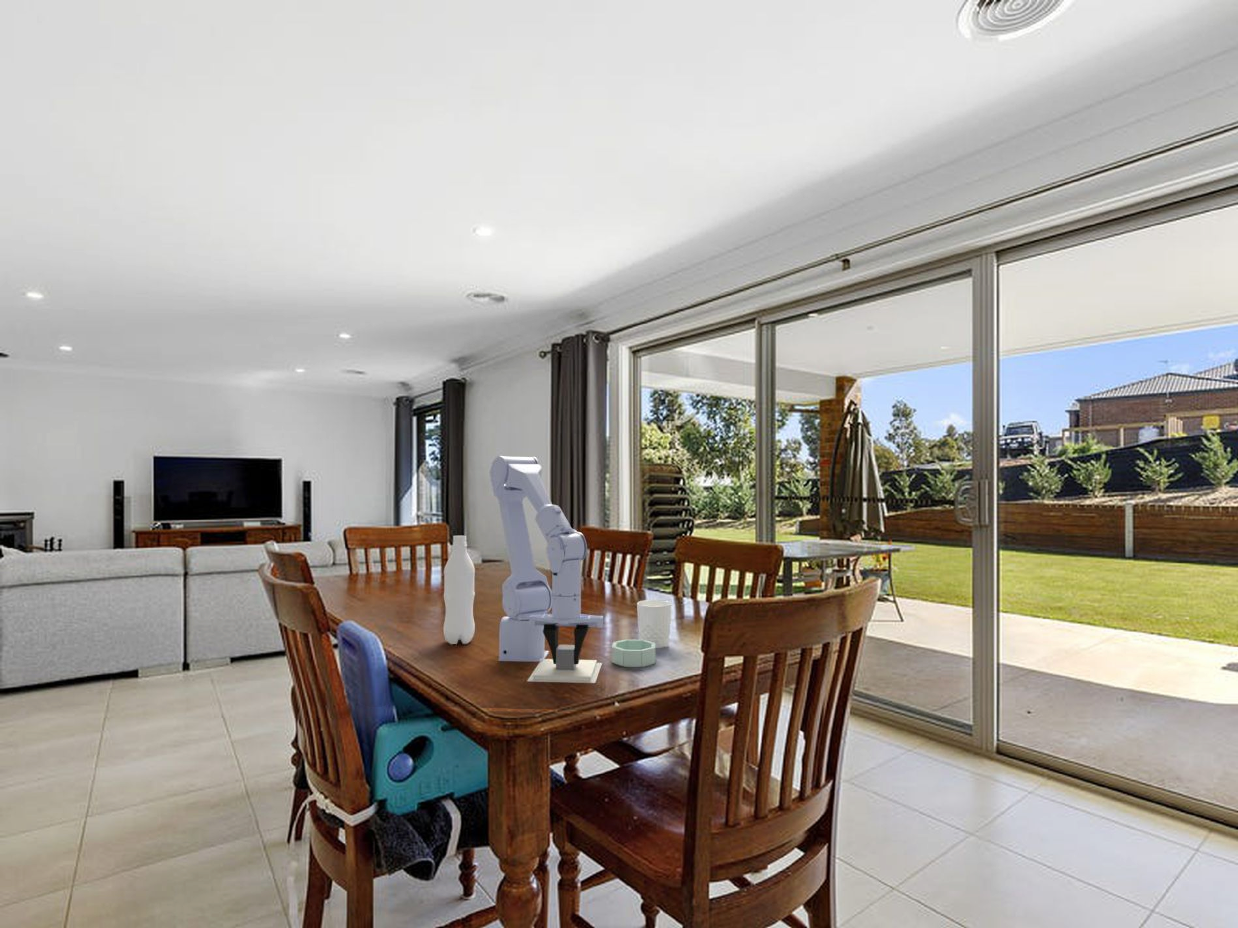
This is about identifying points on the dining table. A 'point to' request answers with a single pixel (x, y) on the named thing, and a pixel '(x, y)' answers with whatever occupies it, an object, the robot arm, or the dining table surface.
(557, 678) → the lid
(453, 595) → the water bottle
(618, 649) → the bowl
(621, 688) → the dining table surface
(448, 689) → the dining table surface
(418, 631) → the dining table surface
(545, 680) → the cream square tray
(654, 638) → the white cup
